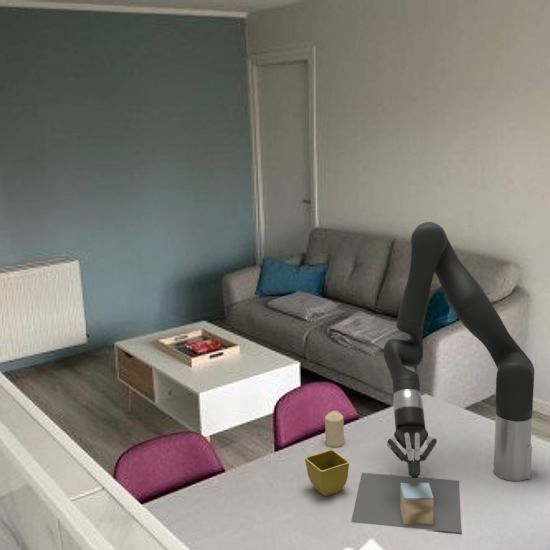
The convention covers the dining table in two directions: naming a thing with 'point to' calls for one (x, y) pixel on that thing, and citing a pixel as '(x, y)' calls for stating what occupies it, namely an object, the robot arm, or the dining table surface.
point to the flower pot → (327, 472)
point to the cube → (416, 503)
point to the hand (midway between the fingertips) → (415, 477)
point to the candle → (334, 429)
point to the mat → (386, 502)
